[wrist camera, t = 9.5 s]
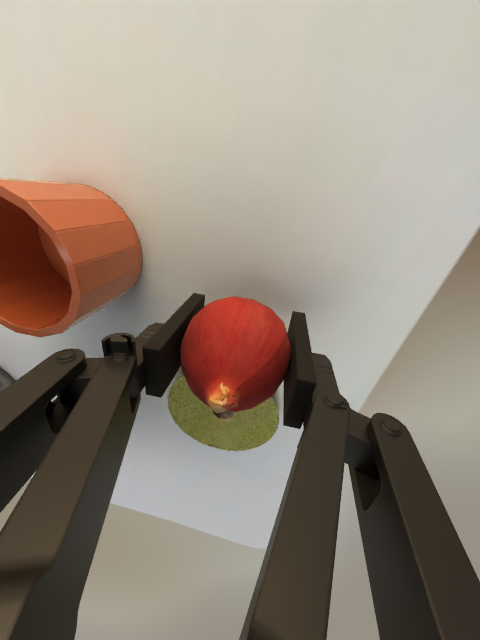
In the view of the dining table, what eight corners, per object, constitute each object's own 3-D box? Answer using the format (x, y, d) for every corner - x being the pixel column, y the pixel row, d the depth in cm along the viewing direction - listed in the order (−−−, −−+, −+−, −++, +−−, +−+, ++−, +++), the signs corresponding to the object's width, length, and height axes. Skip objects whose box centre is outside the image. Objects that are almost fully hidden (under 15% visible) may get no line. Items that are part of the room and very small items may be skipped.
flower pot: (53, 288, 23) (-33, 322, 16) (24, 175, 18) (-107, 164, 12) (145, 306, 22) (91, 348, 16) (138, 192, 18) (59, 189, 11)
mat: (245, 449, 29) (242, 465, 27) (161, 405, 28) (152, 419, 26) (301, 392, 23) (303, 408, 22) (200, 336, 22) (194, 347, 21)
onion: (263, 368, 18) (249, 478, 11) (193, 334, 18) (131, 424, 10) (306, 305, 15) (324, 397, 8) (224, 263, 15) (168, 321, 8)
